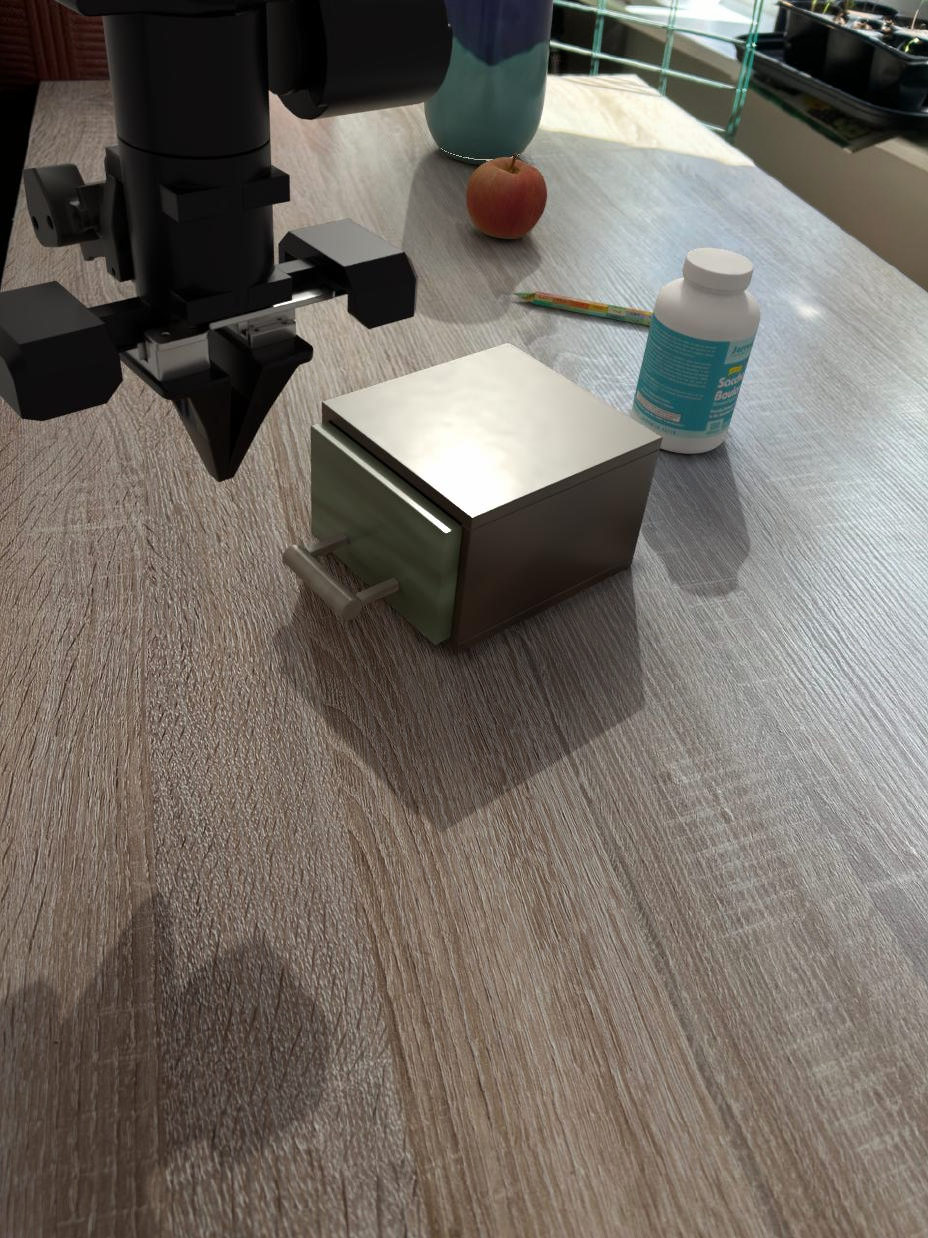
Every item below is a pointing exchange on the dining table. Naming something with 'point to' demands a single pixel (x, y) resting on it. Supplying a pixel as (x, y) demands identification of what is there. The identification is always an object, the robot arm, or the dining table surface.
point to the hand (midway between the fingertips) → (220, 476)
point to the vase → (492, 78)
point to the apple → (506, 197)
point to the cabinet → (512, 477)
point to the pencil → (587, 307)
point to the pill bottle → (697, 351)
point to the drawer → (377, 537)
